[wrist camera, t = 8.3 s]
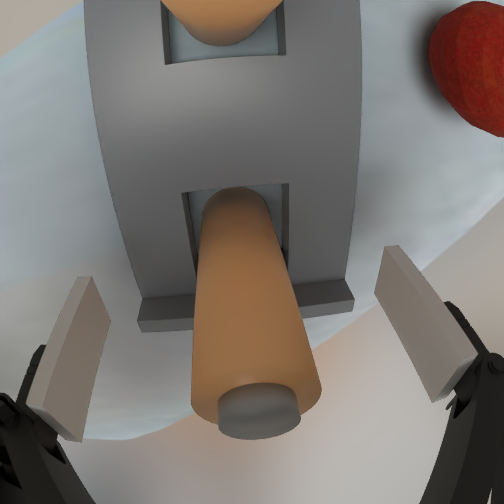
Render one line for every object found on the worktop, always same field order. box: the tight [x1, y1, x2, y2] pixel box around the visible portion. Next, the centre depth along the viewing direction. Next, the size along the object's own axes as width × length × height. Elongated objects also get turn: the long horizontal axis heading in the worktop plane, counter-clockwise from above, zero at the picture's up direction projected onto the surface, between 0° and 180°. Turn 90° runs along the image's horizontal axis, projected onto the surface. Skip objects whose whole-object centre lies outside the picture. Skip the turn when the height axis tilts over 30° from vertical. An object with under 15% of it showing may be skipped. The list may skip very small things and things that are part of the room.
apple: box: [428, 1, 504, 137], centre depth 10 cm, size 8×8×8 cm
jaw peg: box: [191, 187, 322, 440], centre depth 13 cm, size 4×4×13 cm
